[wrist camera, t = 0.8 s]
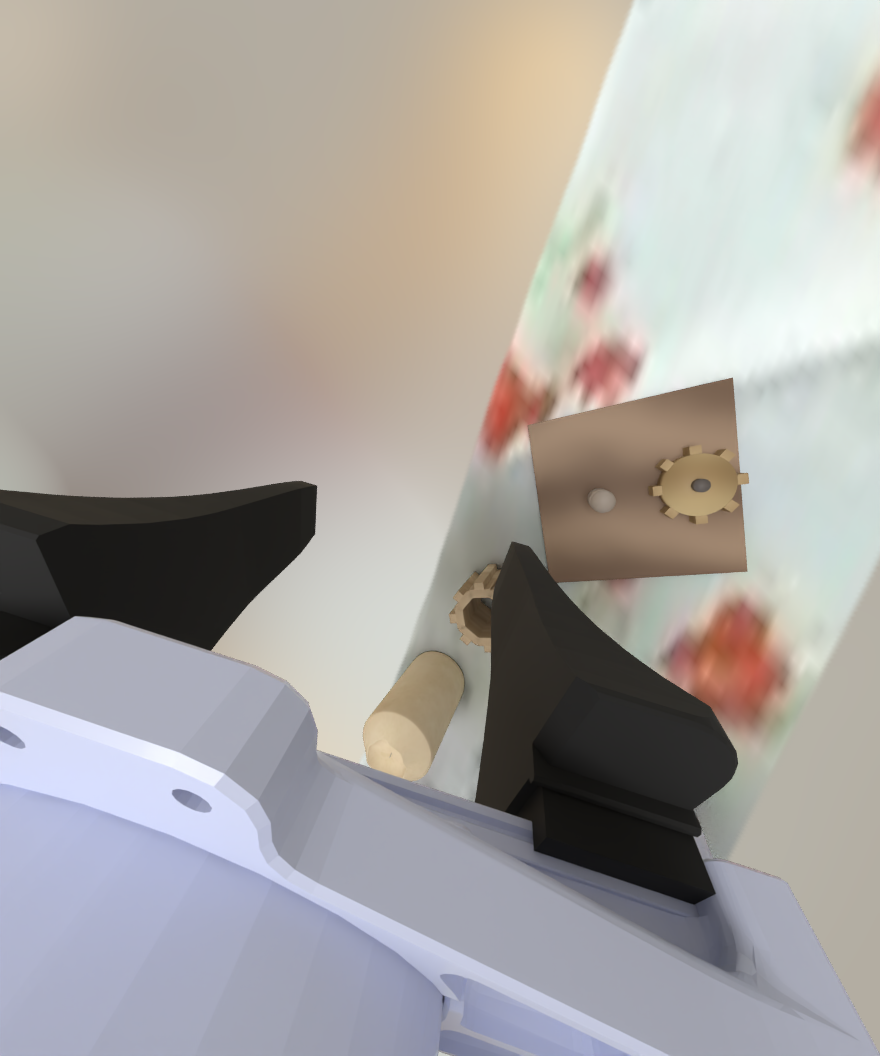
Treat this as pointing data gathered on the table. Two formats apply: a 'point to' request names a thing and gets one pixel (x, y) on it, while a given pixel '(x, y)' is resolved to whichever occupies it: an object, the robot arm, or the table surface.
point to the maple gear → (475, 607)
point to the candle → (414, 717)
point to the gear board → (643, 487)
